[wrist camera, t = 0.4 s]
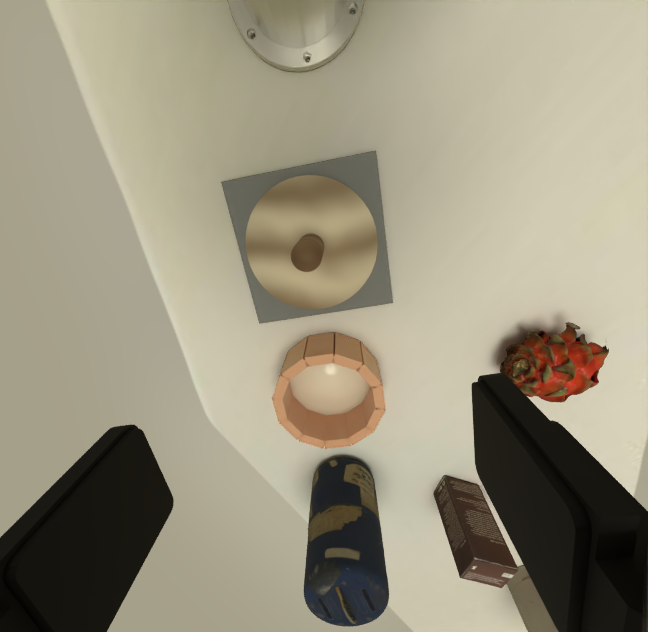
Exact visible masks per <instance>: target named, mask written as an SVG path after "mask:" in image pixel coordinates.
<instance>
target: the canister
mask: <svg viewBox="0 0 648 632" xmlns="http://www.w3.org/2000/svg"><path fill="white" fill-rule="evenodd" d="M304 597H305V601H306V604H307V606H308V607H309V609H310V610H311V612H312V613H313V614H314V615H316V616H317V617H318V618H320V619H322V620H323V621H325V622H328V623H330V624H334V625H339V626H358V625H363V624H366V623H369V622H371V621H373V620H375V619H377V618H378V617H379V616H380V615H381V614H382V613H383V612H384V610H385V608H386V606H387V604H388V599H389V588H388V579H387V573H386V566H385V558H384V549H383V542H382V534H381V527H380V520H379V513H378V505H377V498H376V490H375V483H374V479H373V476H372V474H371V472H370V471H369V469H368V468H367V467H366V466H365V465H363V464H362V463H360V462H358V461H355V460H352V459H335V460H331V461H329V462H327V463H325V464H323V465H322V466H321V467H320V468H319V469H318V470H317V472H316V474H315V476H314V478H313V484H312V494H311V503H310V514H309V526H308V545H307V557H306V569H305V580H304Z"/></svg>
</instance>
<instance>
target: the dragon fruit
mask: <svg viewBox="0 0 648 632" xmlns="http://www.w3.org/2000/svg"><path fill="white" fill-rule="evenodd" d="M566 324H567V325H566V327H567V328H566V330H565V331H564V332H563V333H561V334H560V335H558V334H554V335H552V336H550V337H548V336H547V335H546V333H545V332H544V331H538V332H537V333H534V332H527V333H525V334H524V336H525V337H526V339H525V342H524V343H522V344H521V345H520V344H515V345H510V346H509V347H508V348H507V349H506V351H507V357H506V358H505V361H504V362H502V363H501V367H500V372H501V373H504V374H505V375H506V376H507V377H508V378H509V379H510V380H511V381H512V382H513V383H514V384H515V385H516V386H517V387H518V388H519V389H520V390H521V391H522V392H523V393H524V394H525V395H526V396H529V397H533V396H539V397H540V398H541V399H543V400H546V401H550V402H564V401H565V400H566V399H567V398H568V397H569V396H571V395H577V394H580V393H583V392H584V391H586V390H587V389H589V388H591V387H594V386H595V385H597V384H598V383H599V381H598V379H597V375H598V373H599V369H600V368H601V367H602V366H603V364H604V359H605V358H606V356H607V355H608V352H609V349H608V350H607V348H606V346H605V347H603V348H602V347H601V346H599V345H598V344H596V343H592V342H590V343H588V344H587V342H586V340H585V335H584V334H582V335H581V336H580V337H578V338H576V331H575V329H580V327H579V326H577V325H575V324H573V323H569V322H568V323H566Z"/></svg>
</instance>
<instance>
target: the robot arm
mask: <svg viewBox="0 0 648 632" xmlns="http://www.w3.org/2000/svg"><path fill="white" fill-rule="evenodd" d="M228 3H229V7H230V10H231V13H232V17H233V19H234V21H235V23H236V25H237V27H238V29H239V32H240V33H241V35H242V36H243V38H244V40H245V41H246V43H247V44H248V45H249V46H250V47H251V49H252V50H253V51H254V52H255V53H256V54H257V55H258V56H259V57H261V58H262V59H263V60H264V61H265V62H267V63H269V64H271V65H273V66H275V67H276V68H280V69H283V70H287V71H296V72H302V71H308V70H313V69H315V68H318V67H320V66H323V65H325V64H326V63H328V62H329V61H330V60H332V59H333V58H335V57H336V56H337V55H338V54H339V53H340V52H341V51H342V50H343V48H344V47H345V46H346V44H347V43H348V41H349V40H350V38H351V37H352V35H353V33H354V31H355V29H356V27H357V25H358V22H359V20H360V16H361V12H362V9H363V5H364V0H228ZM352 10H353V11H355V14H354V15H353V14H350V11H352ZM252 35H255V36H256V37H255V38H254V39H251V37H252ZM306 58H310V62H308V63H307V62H306V61H305V60H306ZM472 404H473V426H474V448H475V465H476V469H477V473H478V475H479V478H480V480H481V482H482V484H483V486H484V488H485V490H486V492H487V494H488V495H489V497H490V499H491V501H492V503H493V505H494V507H495V509H496V511H497V513H498V515H499V517H500V519H501V521H502V523H503V525H504V527H505V529H506V531H507V533H508V535H509V537H510V539H511V541H512V543H513V545H514V547H515V548H516V550H517V552H518V554H519V556H520V558H521V560H522V562H523V564H524V566H525V568H526V570H527V572H528V574H529V576H530V578H531V580H532V582H533V584H534V586H535V588H536V590H537V592H538V594H539V596H540V598H541V600H542V601H543V603H544V605H545V607H546V609H547V611H548V613H549V615H550V617H551V619H552V621H553V623H554V625H555V627H556V628H557V630H558V632H648V511H646V509H645V508H644V507H643V506H642V505H641V504H640V503H638V501H637V500H636V499H635V498H634V497H633V496H632V495H631V494H630V493H629V492H628V491H627V490H626V489H625V488H624V487H623V486H622V485H621V484H620V483H619V482H618V481H617V480H616V479H615V478H614V477H613V476H612V475H611V474H610V473H609V472H608V471H607V470H606V469H605V468H604V467H603V466H602V465H601V464H600V463H599V462H598V461H597V460H596V459H595V458H594V457H593V456H592V455H591V454H590V453H589V452H588V451H587V450H586V449H585V448H584V447H583V446H582V445H581V444H580V443H579V442H578V441H577V440H576V439H575V438H574V437H573V436H572V435H571V434H570V433H569V432H568V431H567V430H566V429H565V428H564V427H563V426H562V425H560V424H559V423H558V422H555V421H550V420H549V419H548V418H547V417H546V416H545V415H544V414H543V413H542V412H541V411H540V410H539V409H538V408H537V407H536V406H535V405H534V404H533V403H532V402H531V400H530V399H529V398H528V397H527V396H526V395H525V394H524V393H523V392H522V391H521V390H520V389H519V388H518V387H517V386H516V385H515V384H514V383H513V382H512V381H511V380H510V379H509V378H508V377H507V376H506V375H505V374H504V373H497V374H490V375H483V376H480V377H479V378H478V382H474V383H472ZM172 508H173V497H172V494H171V492H170V490H169V487H168V485H167V483H166V481H165V479H164V476H163V474H162V472H161V470H160V468H159V466H158V463H157V461H156V459H155V457H154V454H153V452H152V450H151V448H150V446H149V443H148V441H147V439H146V437H145V435H144V433H143V431H142V430H141V429H138V427H137V426H135V425H125V426H117V427H113V428H110V429H109V430H108V431H107V432H106V433H105V434H104V435H103V436H102V437H101V438H100V439H99V440H98V441H97V442H96V443H95V444H94V445H93V446H92V447H91V448H90V449H89V450H88V451H87V452H86V453H85V454H84V455H83V456H82V457H81V458H80V459H79V460H78V461H77V462H76V463H75V464H74V465H73V466H72V467H71V468H70V469H69V470H68V471H67V472H66V473H65V474H64V475H63V476H62V477H61V478H60V479H59V480H58V481H57V482H56V483H55V484H54V485H53V486H52V487H51V488H50V489H49V490H48V491H47V492H46V493H45V494H44V495H43V496H42V497H41V498H40V499H39V500H38V501H37V502H36V503H35V504H34V505H33V506H32V507H31V508H30V509H29V510H28V511H27V512H26V513H25V514H24V515H23V516H22V517H21V518H20V519H19V520H18V521H17V522H16V523H15V524H14V525H13V526H12V527H11V528H10V529H9V530H8V531H7V532H6V533H4V534H3V535H2V536H1V538H0V632H107V630H108V628H109V626H110V624H111V623H112V621H113V619H114V617H115V615H116V613H117V612H118V610H119V608H120V606H121V604H122V602H123V600H124V599H125V597H126V595H127V593H128V591H129V589H130V587H131V585H132V584H133V582H134V580H135V578H136V576H137V574H138V572H139V570H140V569H141V567H142V565H143V563H144V561H145V559H146V558H147V556H148V554H149V552H150V550H151V548H152V546H153V545H154V543H155V540H156V539H157V537H158V535H159V533H160V531H161V530H162V528H163V526H164V524H165V522H166V520H167V519H168V516H169V515H170V513H171V510H172Z"/></svg>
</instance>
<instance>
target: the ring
mask: <svg viewBox="0 0 648 632" xmlns="http://www.w3.org/2000/svg"><path fill="white" fill-rule="evenodd" d="M272 400H273V404H274V407H275V411H276V415H277V418H278V422H280V424H281V425H282V426H283V427H284V428H285V429H286V430H287V431H288V432H289V433H290V434H291V435H292V436H293V437H295V438H296V439H297V440H298V439H299V441H301V442H304V443H307V444H310V445H314V446H317V447H320V448H324V447H325V449H327V448H335V447H344V446H351V444H352V445H354V444H355V443H357V442H358V441H360V440H362V439H363V438H365V437H366V436H368V435H370V434H371V433H373V431H375V429H376V427H377V425H378V423H379V421H380V419H381V418H382V416H383V414H384V412H385V409H386V408H385V400H384V393H383V386H382V381H381V377H380V373H379V368H378V364H377V360H376V358H375V357H374V356H373V355H372V354H371V353H370V351H369V350H368V349H367V348H366V347H365V346H364V345H363V343H362V342H361V341H360V342H359V340H357V339H354V338H351V337H348V336H345V335H342V334H339V333H336V332H335V335H334V332H331V333H324V334H317V335H311V336H309V338H308V337H306V338H305V339H303V340H302V341H301V342H299V343H298V344H297V345H295V346H294V347H293V348H292V349H290V350H289V351H288V353H287V356H286V358H285V361H284V364H283V367H282V370H281V372H280V376H279V379H278V382H277V385H276V388H275V391H274V394H273V399H272Z"/></svg>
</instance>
